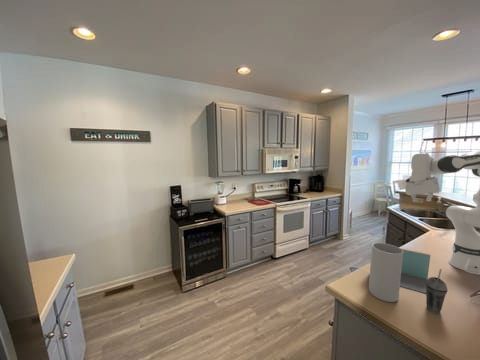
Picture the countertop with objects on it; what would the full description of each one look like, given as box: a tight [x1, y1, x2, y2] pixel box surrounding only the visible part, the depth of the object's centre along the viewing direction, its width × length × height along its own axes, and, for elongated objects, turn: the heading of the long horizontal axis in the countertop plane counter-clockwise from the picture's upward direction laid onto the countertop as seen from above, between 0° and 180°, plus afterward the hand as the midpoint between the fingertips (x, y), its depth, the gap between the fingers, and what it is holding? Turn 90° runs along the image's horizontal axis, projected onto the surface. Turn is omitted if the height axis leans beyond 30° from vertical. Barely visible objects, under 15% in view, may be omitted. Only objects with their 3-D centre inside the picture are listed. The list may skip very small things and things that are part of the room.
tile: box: [397, 246, 431, 279], centre depth 118 cm, size 15×2×15 cm, turn 57°
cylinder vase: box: [368, 242, 403, 303], centre depth 100 cm, size 12×12×25 cm
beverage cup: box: [425, 268, 448, 315], centre depth 90 cm, size 7×7×20 cm
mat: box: [400, 273, 427, 295], centre depth 111 cm, size 18×16×1 cm
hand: (421, 201), depth 119 cm, fingers open, 8 cm apart
